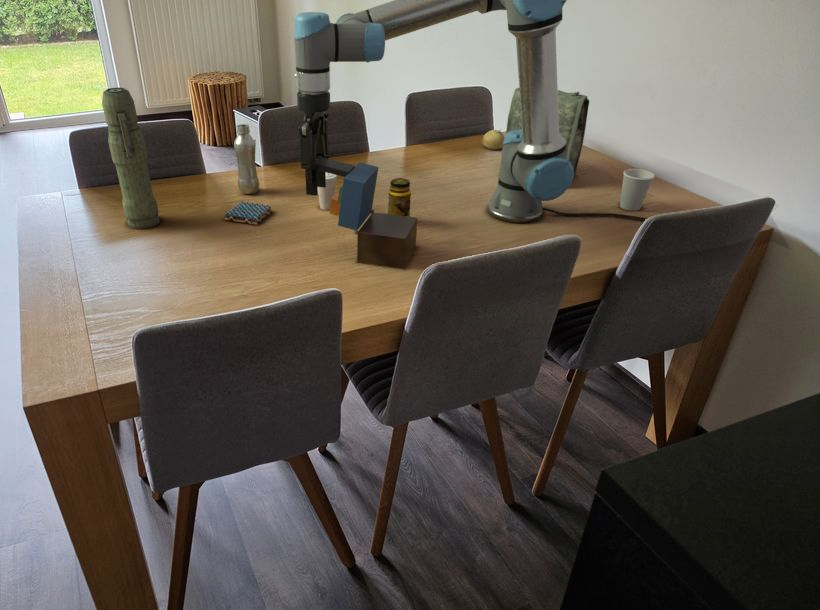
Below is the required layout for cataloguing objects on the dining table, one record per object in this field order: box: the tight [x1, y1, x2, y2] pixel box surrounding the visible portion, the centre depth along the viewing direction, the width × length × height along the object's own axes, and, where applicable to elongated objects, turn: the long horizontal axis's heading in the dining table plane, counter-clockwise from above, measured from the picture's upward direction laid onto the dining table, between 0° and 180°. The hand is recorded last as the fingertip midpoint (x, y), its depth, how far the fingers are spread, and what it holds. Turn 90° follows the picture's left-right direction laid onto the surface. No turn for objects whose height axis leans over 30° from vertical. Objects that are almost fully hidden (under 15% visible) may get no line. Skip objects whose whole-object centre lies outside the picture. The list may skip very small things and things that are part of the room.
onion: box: [482, 128, 505, 151], centre depth 224 cm, size 8×8×7 cm
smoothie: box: [317, 172, 338, 211], centre depth 176 cm, size 6×6×14 cm
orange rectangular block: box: [329, 192, 341, 217], centre depth 151 cm, size 4×4×8 cm
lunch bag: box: [505, 87, 590, 178], centre depth 194 cm, size 22×16×27 cm
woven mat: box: [224, 200, 273, 226], centre depth 174 cm, size 10×11×2 cm
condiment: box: [387, 177, 412, 217], centre depth 168 cm, size 7×8×12 cm
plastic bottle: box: [233, 123, 260, 195], centre depth 184 cm, size 6×7×20 cm
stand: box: [353, 208, 419, 270], centre depth 152 cm, size 12×14×8 cm
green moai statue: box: [101, 87, 161, 230], centre depth 161 cm, size 9×12×35 cm
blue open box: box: [315, 157, 379, 231], centre depth 149 cm, size 12×12×14 cm
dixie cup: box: [619, 168, 656, 212], centre depth 177 cm, size 8×8×10 cm
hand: (316, 190), depth 151 cm, fingers closed on blue open box, 5 cm apart
